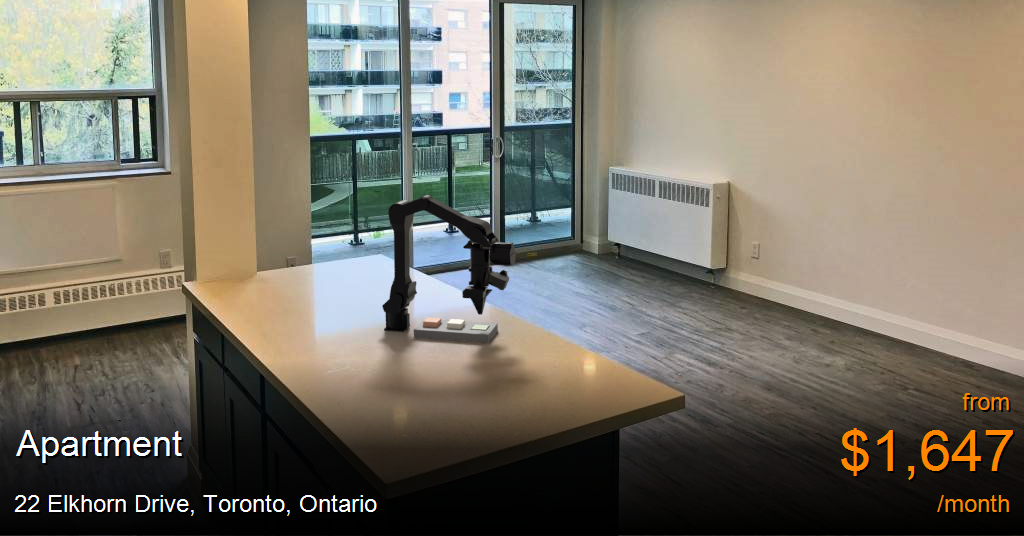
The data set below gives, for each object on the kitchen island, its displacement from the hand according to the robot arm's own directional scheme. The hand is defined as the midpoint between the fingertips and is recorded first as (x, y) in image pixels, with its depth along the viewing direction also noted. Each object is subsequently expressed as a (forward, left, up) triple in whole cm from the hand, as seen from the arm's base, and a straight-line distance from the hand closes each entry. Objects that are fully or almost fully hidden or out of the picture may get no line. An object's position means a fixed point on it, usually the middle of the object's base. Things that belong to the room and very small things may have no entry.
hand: (480, 314), depth 284 cm
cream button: (-8, 0, -5) cm, 9 cm away
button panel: (-8, 0, -7) cm, 10 cm away
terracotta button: (-15, 0, -5) cm, 16 cm away
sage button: (0, 0, -7) cm, 7 cm away
